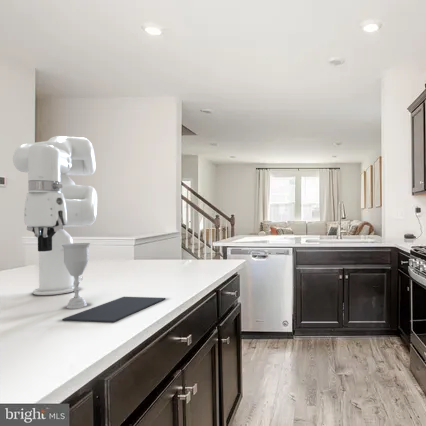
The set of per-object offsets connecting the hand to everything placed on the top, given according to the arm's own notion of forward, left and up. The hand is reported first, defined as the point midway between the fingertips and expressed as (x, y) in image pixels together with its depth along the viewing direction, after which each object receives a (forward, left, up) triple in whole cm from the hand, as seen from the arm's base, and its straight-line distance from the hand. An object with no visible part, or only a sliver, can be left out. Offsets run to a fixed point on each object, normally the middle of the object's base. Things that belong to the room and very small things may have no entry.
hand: (45, 250), depth 108 cm
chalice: (0, +10, -16) cm, 19 cm away
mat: (+1, +24, -16) cm, 29 cm away
